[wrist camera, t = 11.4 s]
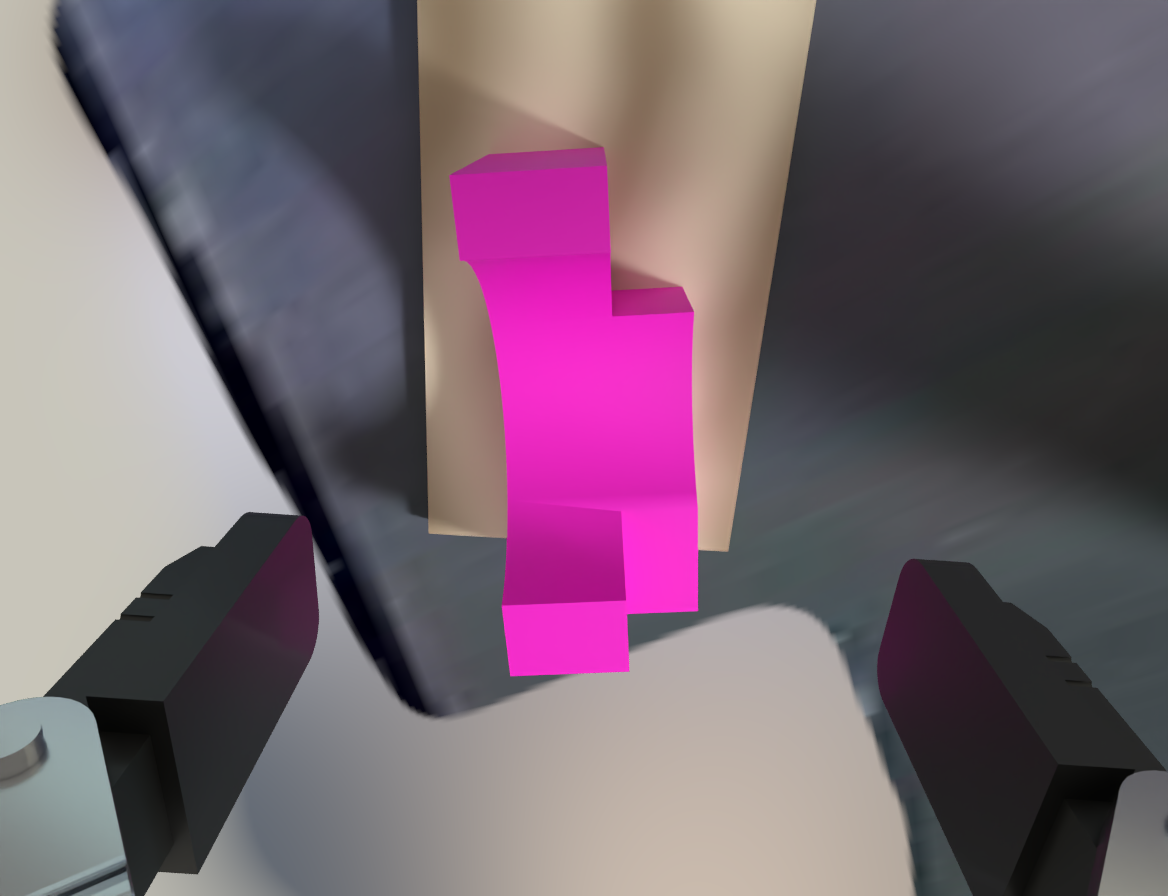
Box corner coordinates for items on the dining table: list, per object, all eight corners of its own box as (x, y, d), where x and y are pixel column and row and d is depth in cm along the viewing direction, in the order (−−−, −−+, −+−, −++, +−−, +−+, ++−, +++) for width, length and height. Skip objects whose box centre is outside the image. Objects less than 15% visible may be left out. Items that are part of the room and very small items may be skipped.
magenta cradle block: (684, 543, 31) (709, 668, 24) (528, 550, 32) (510, 675, 25) (681, 142, 25) (713, 158, 18) (488, 154, 25) (449, 175, 19)
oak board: (811, -21, 24) (820, -26, 23) (724, 538, 32) (727, 551, 31) (422, -49, 24) (416, -54, 23) (433, 520, 32) (428, 533, 31)
